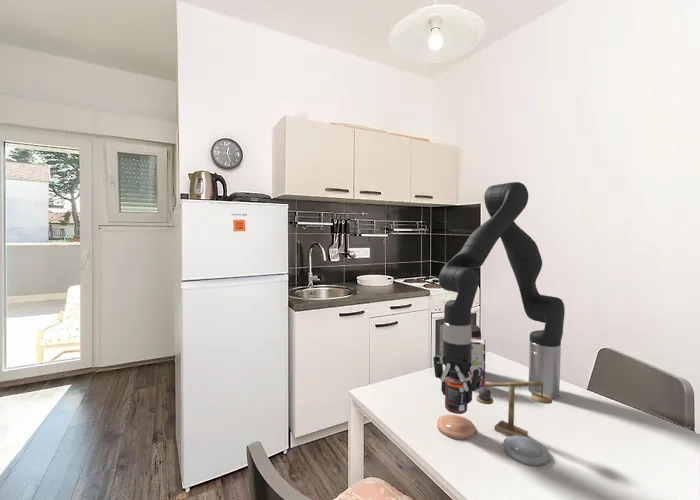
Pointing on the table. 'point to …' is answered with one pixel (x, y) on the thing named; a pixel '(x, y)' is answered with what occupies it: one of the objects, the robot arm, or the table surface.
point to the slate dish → (526, 450)
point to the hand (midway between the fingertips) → (456, 398)
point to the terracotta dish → (456, 427)
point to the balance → (511, 405)
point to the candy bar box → (478, 358)
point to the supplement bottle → (454, 394)
